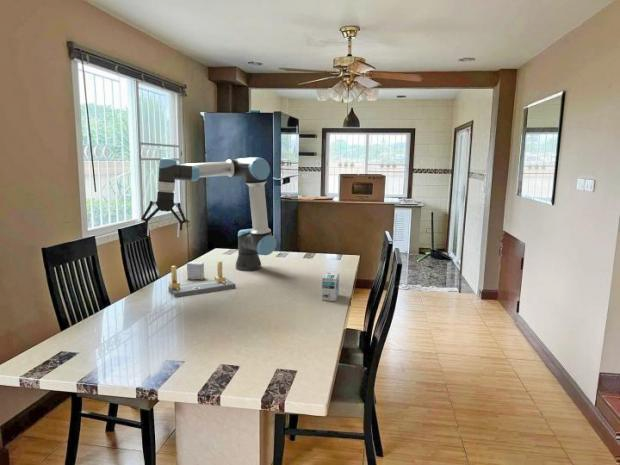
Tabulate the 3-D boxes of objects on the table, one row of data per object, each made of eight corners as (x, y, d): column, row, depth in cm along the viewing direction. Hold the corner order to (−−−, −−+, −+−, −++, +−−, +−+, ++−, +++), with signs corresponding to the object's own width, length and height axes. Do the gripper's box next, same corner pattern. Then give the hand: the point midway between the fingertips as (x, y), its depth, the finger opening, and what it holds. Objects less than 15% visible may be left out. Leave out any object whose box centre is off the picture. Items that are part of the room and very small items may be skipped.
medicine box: (204, 277, 238) (204, 262, 237) (201, 280, 234) (201, 264, 232) (190, 277, 239) (189, 261, 238) (187, 279, 235) (186, 263, 233)
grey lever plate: (226, 281, 231) (226, 258, 229) (235, 287, 221) (235, 263, 219) (168, 290, 215) (167, 265, 213) (174, 297, 205) (173, 271, 203)
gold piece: (177, 285, 216) (176, 264, 214) (182, 290, 208) (181, 268, 207) (169, 286, 214) (168, 265, 212) (173, 291, 206) (173, 269, 204)
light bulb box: (335, 301, 202) (336, 278, 200) (321, 300, 203) (321, 277, 201) (339, 294, 212) (339, 272, 210) (325, 293, 214) (325, 272, 212)
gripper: (137, 189, 199) (134, 236, 201) (194, 194, 208) (191, 238, 210) (137, 188, 206) (135, 233, 208) (192, 193, 215) (189, 236, 217)
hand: (163, 236), depth 209 cm, fingers open, 13 cm apart
